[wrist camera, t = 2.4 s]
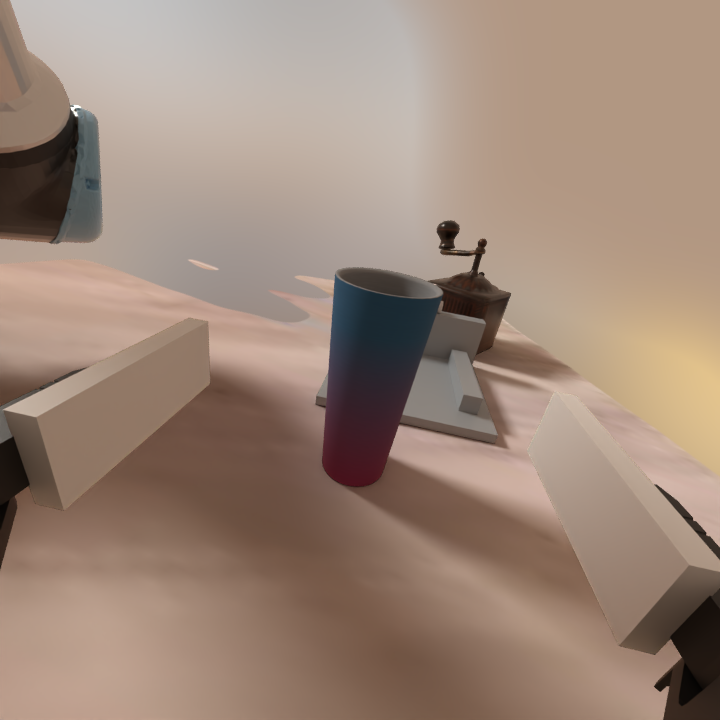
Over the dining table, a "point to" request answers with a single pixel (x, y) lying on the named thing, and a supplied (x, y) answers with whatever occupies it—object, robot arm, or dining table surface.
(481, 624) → the dining table surface
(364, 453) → the cup
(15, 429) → the robot arm
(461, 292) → the manual coffee grinder
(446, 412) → the dock
